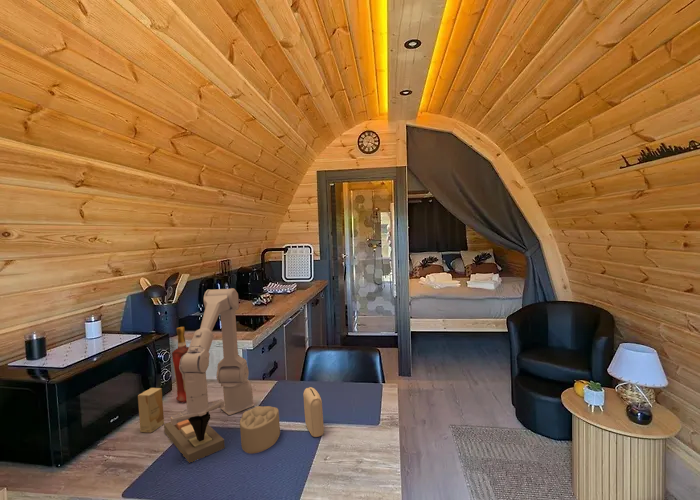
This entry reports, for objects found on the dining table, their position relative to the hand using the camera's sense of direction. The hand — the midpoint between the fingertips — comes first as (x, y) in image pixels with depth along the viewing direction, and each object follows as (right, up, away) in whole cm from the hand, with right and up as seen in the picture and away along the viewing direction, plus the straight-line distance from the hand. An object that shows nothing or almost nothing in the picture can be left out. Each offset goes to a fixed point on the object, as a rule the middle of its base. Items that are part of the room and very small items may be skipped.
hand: (200, 439), depth 108 cm
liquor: (-19, -3, +35) cm, 40 cm away
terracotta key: (-9, -1, +11) cm, 14 cm away
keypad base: (-4, -3, +5) cm, 8 cm away
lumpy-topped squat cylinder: (+17, -2, +3) cm, 17 cm away
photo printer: (+33, -1, +7) cm, 33 cm away
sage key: (0, -2, 0) cm, 2 cm away
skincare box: (-21, -4, +14) cm, 26 cm away
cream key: (-5, -1, +5) cm, 7 cm away
